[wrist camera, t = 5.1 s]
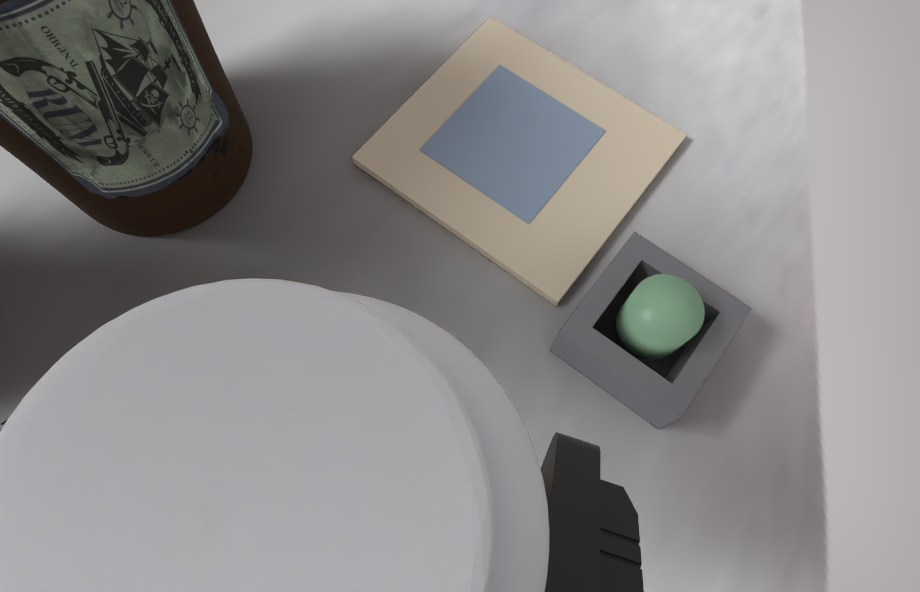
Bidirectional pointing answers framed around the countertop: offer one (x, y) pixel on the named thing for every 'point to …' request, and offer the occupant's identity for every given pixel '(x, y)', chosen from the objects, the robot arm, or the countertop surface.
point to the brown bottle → (122, 109)
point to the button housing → (623, 371)
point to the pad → (520, 156)
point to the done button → (660, 316)
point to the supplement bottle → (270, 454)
